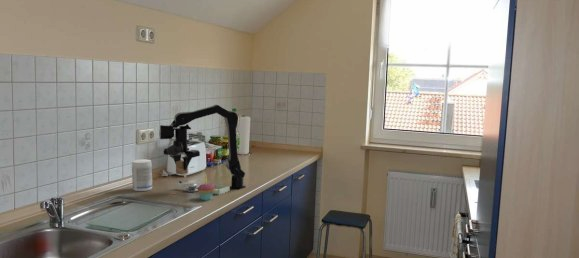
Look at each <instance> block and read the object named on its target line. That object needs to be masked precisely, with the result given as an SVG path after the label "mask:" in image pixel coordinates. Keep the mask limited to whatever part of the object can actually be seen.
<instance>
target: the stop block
mask: <svg viewBox="0 0 579 258" xmlns="http://www.w3.org/2000/svg"><path fill="white" fill-rule="evenodd" d="M188 167H189V166H188ZM188 167H187V169H186V170H184V160H183V159H182V160H180V161H176V164H175V174H177V175H185V174H188V173H189V172H188Z"/></svg>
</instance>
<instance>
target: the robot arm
mask: <svg viewBox="0 0 579 258" xmlns="http://www.w3.org/2000/svg"><path fill="white" fill-rule="evenodd" d="M214 114H217V115H219V116H221V117H223V119H224V123H225V126H226V129H227V143H228V158H227V159H225V168H226V169H227V171H228V172H229V173H230V174H231V183H230V189H237V190H240V189H244V188H246V187H247V186H246V185H244V178H245V175H246V173H245V172H244V171H243V170H242V169H241V168H242V167H241V162H240V160H239V157H238V145H237V143H238V141H237V126H238V124H239V123H238V122H239V116H238V114H237V113H236V112H235V111H231V110H227V109H225V108H224V107H222V106H221V105H218V104H214V105H211V106H208V107H204V108H200V109H197V110H193V111H183V112H177V113H176V114H175V115H174V118H173V121H172V122H171V124H169V125H164V124H161V125H160V124H159V132H158V135H159V140H173V138H175V139H174V140H173V143H172V145H170V146H168V147H166V148H164V150H163V155H167V156H169V157H170V158H171V159H173V162H174V164H175V165H176V161H180V160H181V159H182V160H183V161H184V170H186V169H187V167H189V164H190V162H191V160H192V158H196V157H200V156H201V152H200V150H198V149H191V150H190V148H189V147H188V143H189V142H190V140H189V139H188V130H191V129H192V128H191V127H190V126H189V123H191V122H192V121H195V120H197V119H199V118H200V119H201V118H204V117H206V116H207V117H208V116H210V115H214ZM182 155H184V156H182Z"/></svg>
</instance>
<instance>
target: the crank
mask: <svg viewBox="0 0 579 258" xmlns="http://www.w3.org/2000/svg"><path fill="white" fill-rule="evenodd" d="M197 185H198V184H197V183H193V182H192V183H191V182H183V180H178V182H177V186H179V187H186V188H198V187H197Z"/></svg>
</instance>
